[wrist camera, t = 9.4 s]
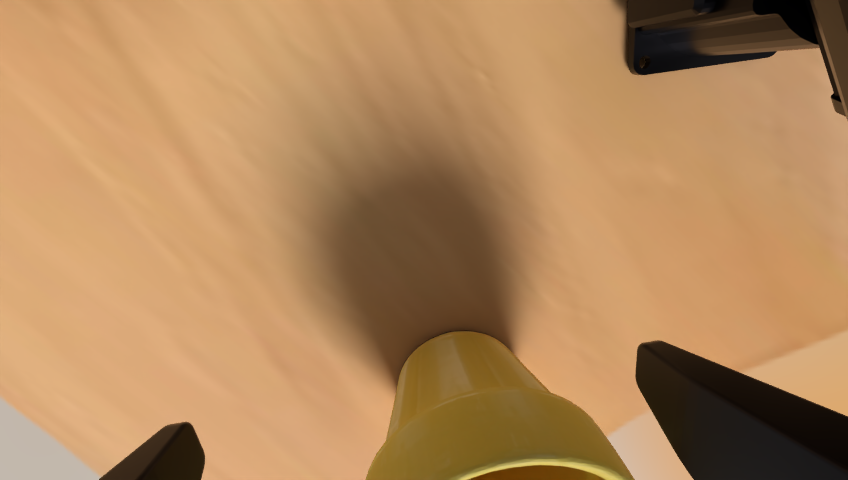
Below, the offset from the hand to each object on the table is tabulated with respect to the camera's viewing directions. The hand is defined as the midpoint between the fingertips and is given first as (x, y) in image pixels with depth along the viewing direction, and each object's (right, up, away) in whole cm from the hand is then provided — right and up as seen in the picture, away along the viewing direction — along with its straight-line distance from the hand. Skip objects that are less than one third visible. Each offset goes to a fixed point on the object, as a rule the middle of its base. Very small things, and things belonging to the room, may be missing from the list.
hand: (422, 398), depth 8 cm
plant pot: (+2, -5, +15) cm, 16 cm away
